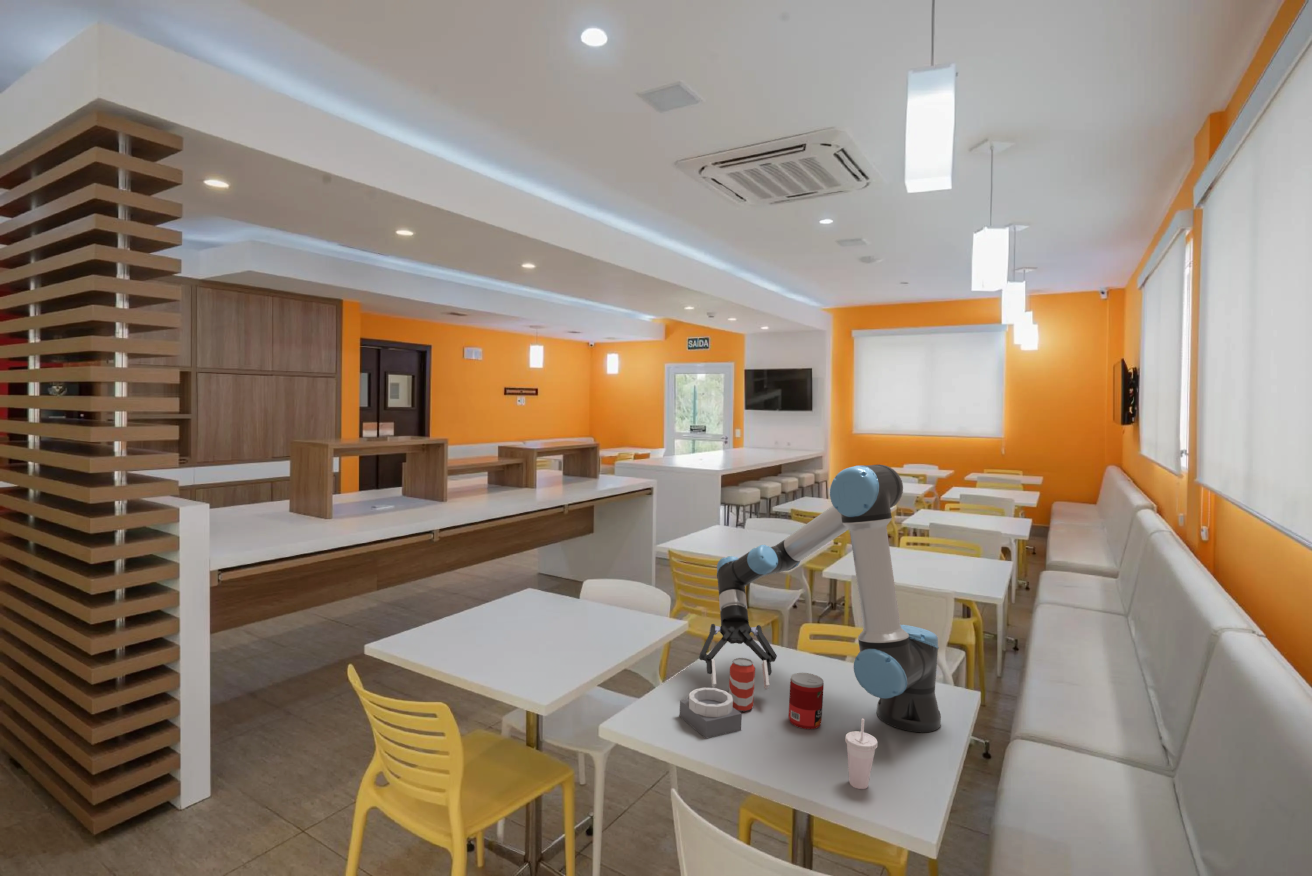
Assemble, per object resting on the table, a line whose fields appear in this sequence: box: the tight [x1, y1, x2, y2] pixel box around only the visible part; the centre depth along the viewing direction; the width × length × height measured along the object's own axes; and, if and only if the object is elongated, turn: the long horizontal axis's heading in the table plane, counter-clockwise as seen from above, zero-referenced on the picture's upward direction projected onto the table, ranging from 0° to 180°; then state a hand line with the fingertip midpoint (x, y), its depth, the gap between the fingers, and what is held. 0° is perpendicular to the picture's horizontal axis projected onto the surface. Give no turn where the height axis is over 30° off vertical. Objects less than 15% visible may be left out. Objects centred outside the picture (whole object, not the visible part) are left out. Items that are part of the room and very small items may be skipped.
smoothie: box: [844, 718, 878, 790], centre depth 140 cm, size 6×6×14 cm
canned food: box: [788, 672, 825, 730], centre depth 166 cm, size 8×8×11 cm
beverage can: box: [728, 657, 756, 712], centre depth 173 cm, size 6×6×12 cm
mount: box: [678, 687, 743, 739], centre depth 164 cm, size 12×10×6 cm
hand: (740, 686), depth 172 cm, fingers open, 13 cm apart
